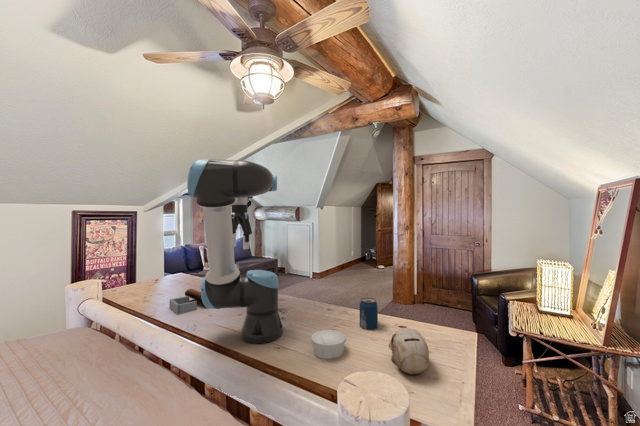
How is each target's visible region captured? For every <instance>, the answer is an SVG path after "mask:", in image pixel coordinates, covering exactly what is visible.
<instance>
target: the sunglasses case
mask: <svg viewBox="0 0 640 426" xmlns="http://www.w3.org/2000/svg"><path fill="white" fill-rule="evenodd" d="M185 296H189V299H194V300H197V299H198V300H201V301H202V298H201V291H200V290H197V289H194V288H190V289H189V288H188V289H187V290H186V291H185V292H184V297H185Z"/></svg>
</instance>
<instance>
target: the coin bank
mask: <svg viewBox="0 0 640 426" xmlns="http://www.w3.org/2000/svg"><path fill="white" fill-rule="evenodd" d="M388 343H389V344H388V349H390V350H391V358H390V360H391V362H392V363H394V364H396V365H397V367H398V368H399V369H400V371H402V372H404V373H406V374H408V375H410V376H411V375H420V374H422V373H423V372H424V371H426V370H427V368H428V367H429V363H430V362H429V361H430V353H429V352H430V351H429V346H428V344H427V341H426V340H425V338H424V337H423V335H422V334H421V333H420V332H419V331H418V330H416V329H414V328H399V329H398V330H396V331H395V332H394V334H392V336H391V339H390V342H388Z"/></svg>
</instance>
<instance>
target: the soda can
mask: <svg viewBox="0 0 640 426" xmlns="http://www.w3.org/2000/svg"><path fill="white" fill-rule="evenodd" d="M378 306H379V305H378V302H377V300H376V299H375V298H373V297H363V298H361V299H360V302H359V328H361V329H362V330H366V331H373V330H377V328H378V327H379V323H378V321H379V319H378V317H379V315H378V311H379V308H378Z"/></svg>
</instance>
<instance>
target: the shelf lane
mask: <svg viewBox="0 0 640 426" xmlns="http://www.w3.org/2000/svg"><path fill="white" fill-rule="evenodd" d="M197 306H198V302H197V300H194V301H190V297H189V296H185V295H184V296H181V297H176V298H170V299H169V309H170V310H171V311H172V312H173V313H175V315H181V314H184V313H185V314H186V313H189V312H194V311H197V310H198V307H197Z"/></svg>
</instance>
